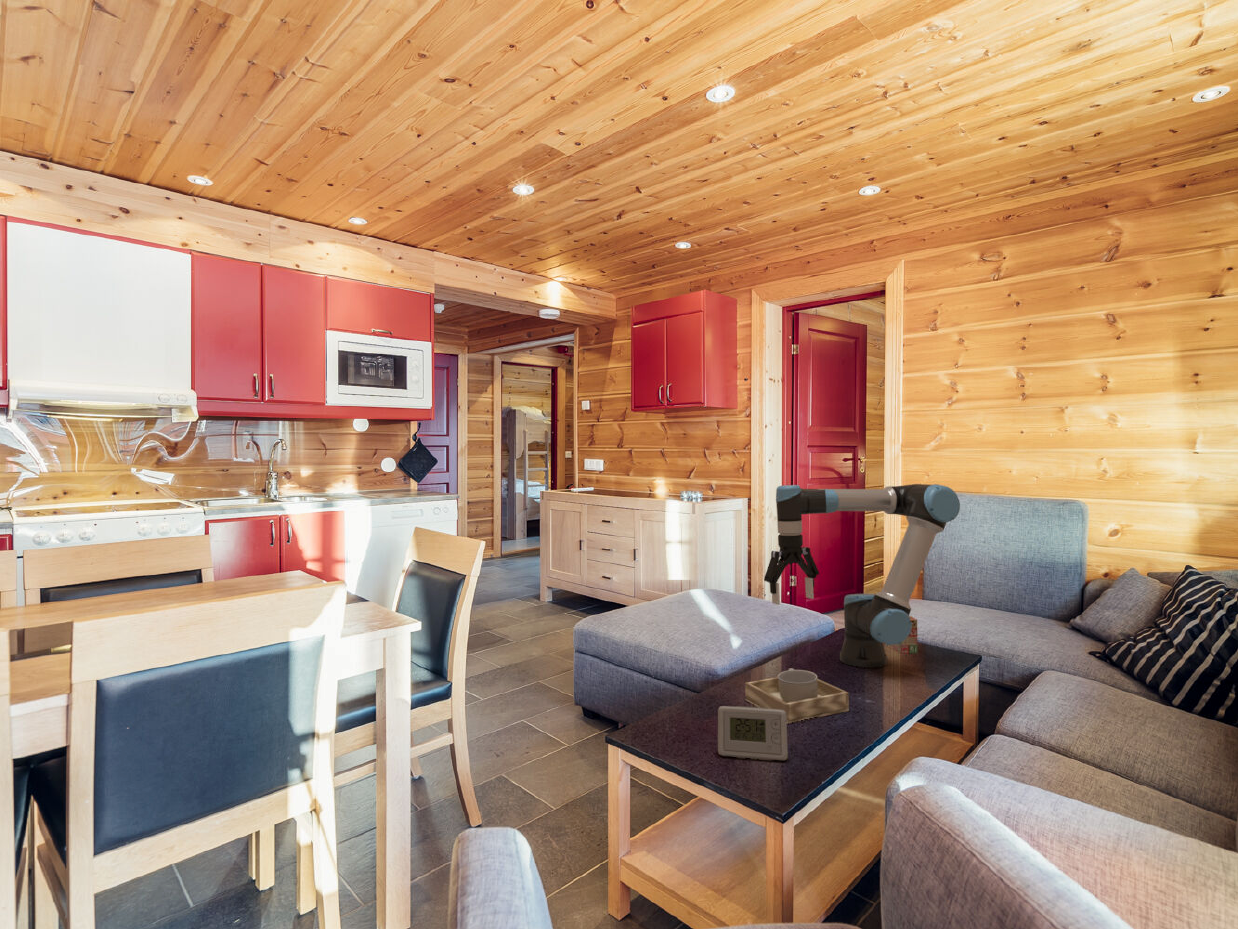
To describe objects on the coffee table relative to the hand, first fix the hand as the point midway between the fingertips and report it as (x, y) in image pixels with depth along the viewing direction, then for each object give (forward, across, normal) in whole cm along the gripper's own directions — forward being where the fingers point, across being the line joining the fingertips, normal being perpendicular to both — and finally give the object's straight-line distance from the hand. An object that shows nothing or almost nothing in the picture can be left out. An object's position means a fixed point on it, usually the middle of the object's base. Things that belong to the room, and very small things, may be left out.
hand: (793, 601), depth 201 cm
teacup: (+24, +14, +17) cm, 32 cm away
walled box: (+25, +15, +17) cm, 33 cm away
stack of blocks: (+27, -58, -12) cm, 65 cm away
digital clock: (+24, +44, +36) cm, 62 cm away
